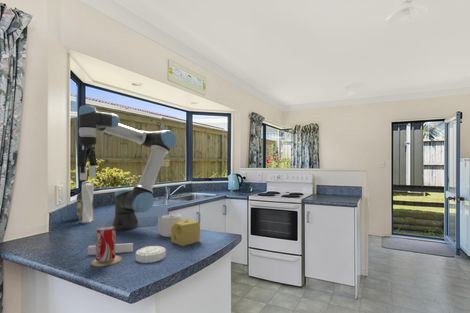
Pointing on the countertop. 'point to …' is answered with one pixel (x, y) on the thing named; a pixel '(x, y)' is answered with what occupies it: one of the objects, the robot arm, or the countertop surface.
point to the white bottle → (87, 202)
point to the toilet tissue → (167, 224)
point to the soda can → (105, 244)
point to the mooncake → (150, 254)
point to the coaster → (116, 260)
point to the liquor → (80, 202)
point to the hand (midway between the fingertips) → (88, 179)
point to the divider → (118, 248)
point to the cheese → (185, 232)
